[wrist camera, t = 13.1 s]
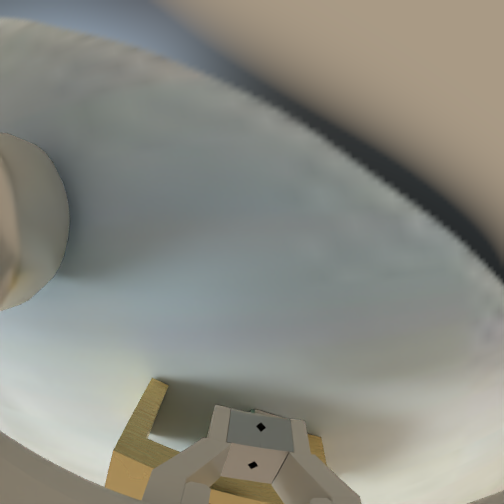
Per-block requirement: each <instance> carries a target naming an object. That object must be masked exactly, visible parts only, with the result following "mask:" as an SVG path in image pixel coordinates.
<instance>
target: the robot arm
mask: <svg viewBox="0 0 504 504" xmlns="http://www.w3.org/2000/svg"><path fill="white" fill-rule="evenodd" d="M220 476H222V477H228V478H235V479H242V480H249V481H255V482H261V483H268V484H272V487H273V488H274V490H275V491H276V493H277V494H278V495H279V497H280V498H281V500H282V501H283V503H284V504H361V500H360V496H359V495H357V494H356V493H355V492H354V491H353V490H352V489H351V488H350V487H349V486H347V485H346V484H345V483H344V482H343V481H342V480H341V479H340V478H339V477H338V476H337V475H336V474H335V473H333V472H332V471H331V470H330V469H329V468H328V467H327V466H326V465H325V464H324V463H323V462H322V461H321V460H320V459H319V458H318V457H317V456H316V455H313V454H311V452H310V446H309V440H308V434H307V429H306V423H305V421H304V420H297V419H287V418H280V417H273V416H267V415H261V414H256V413H251V412H246V411H242V410H237V409H233V408H231V409H230V408H228V407H224V406H219V405H215V407H214V411H213V415H212V419H211V423H210V427H209V431H208V435H207V438H204V437H203V438H202V439H200V440H199V441H197V442H196V443H194V444H193V445H191V446H190V447H188V448H187V449H185V450H183V451H182V452H180V453H179V454H177V455H176V456H174V457H172V458H171V459H169V460H168V461H166V462H164V463H163V464H161V465H159V466H158V467H156V468H154V469H153V470H152V472H151V475H150V478H149V481H148V483H147V486H146V489H145V492H144V494H143V497H142V500H138V499H135V498H132V497H129V496H127V495H124V494H121V493H118V492H116V491H113V490H111V489H108V488H105V487H103V486H101V485H98V484H96V483H94V482H91V481H89V480H87V479H84V478H82V477H80V476H78V475H76V474H74V473H72V472H70V471H68V470H66V469H64V468H62V467H60V466H58V465H56V464H54V463H52V462H50V461H48V460H47V459H45V458H43V457H41V456H40V455H38V454H36V453H34V452H33V451H31V450H29V449H28V448H26V447H24V446H23V445H21V444H20V443H18V442H17V441H15V440H13V439H12V438H10V437H9V436H7V435H6V434H5V433H3V432H2V431H0V504H209V498H210V491H211V489H210V488H209V487H210V486H211V485H212V484H213V483H215V482H216V481H217V480H218V479H219V478H220ZM467 504H504V490H503V491H500V492H498V493H495V494H493V495H490V496H487V497H485V498H482V499H479V500H476V501H473V502H470V503H467Z"/></svg>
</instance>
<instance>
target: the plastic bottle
mask: <svg viewBox="0 0 504 504" xmlns="http://www.w3.org/2000/svg"><path fill="white" fill-rule="evenodd" d="M69 223H70V216H69V204H68V199H67V194H66V191H65V188H64V185H63V182H62V180H61V178H60V176H59V174H58V172H57V170H56V168H55V166H54V164H53V162H52V161H51V159H50V158H49V157H48V155H47V154H46V153H45V152H44V151H43V150H42V149H41V148H39V147H38V146H37V145H35V144H33V143H30V142H28V141H25V140H23V139H21V138H18V137H16V136H13V135H11V134H8V133H0V311H3V310H6V309H9V308H12V307H15V306H18V305H21V304H23V303H25V302H26V301H28V300H30V299H31V298H32V297H33V296H34V295H35V294H36V293H37V292H38V291H40V290H41V289H42V288H43V287H44V286H45V285H46V284H47V283H48V282H49V281H50V280H51V279H52V278H53V277H54V276H55V274H56V272H57V271H58V269H59V268H60V265H61V262H62V259H63V257H64V254H65V249H66V245H67V240H68V235H69Z"/></svg>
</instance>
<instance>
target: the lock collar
mask: <svg viewBox="0 0 504 504" xmlns="http://www.w3.org/2000/svg"><path fill="white" fill-rule="evenodd" d="M168 386H169V385H167V384H164V383H162V382H160V381H158V380H156V379H154V378H152V379H151V381H150V383H149V384H148V386H147V388H146V390H145V392H144V394H143V395H142V397H141V399H140V401H139V403H138V405H137V407H136V408H135V410H134V412H133V414H132V416H131V418H130V420H129V421H128V423H127V425H126V427H125V429H124V431H123V433H122V435H121V437H120V438H119V440H118V442H117V444H116V446H115V448H114V450H113V454H112V458H111V462H110V466H109V470H108V475H107V479H106V484H105V488H108V489H111V490H113V491H116V492H118V493H121V494H124V495H127V496H129V497H132V498H135V499H138V500H142V497H143V494H144V492H145V489H146V486H147V483H148V481H149V478H150V475H151V472H152V470H153V469H154V468H156V467H158V466H159V465H161V464H163V463H164V462H166V461H168V460H169V459H171V458H172V457H174V456H176V455H177V454H179V453H180V452H178V451H176V450H173V449H171V448H168V447H166V446H163V445H161V444H159V443H156V442H154V441H152V440H149V439H148V436H149V434H150V431H151V429H152V426H153V424H154V421H155V419H156V416H157V414H158V411H159V409H160V406H161V404H162V401H163V399H164V396H165V394H166V391H167V389H168ZM308 440H309V446H310V452H311V454H313V455H316V456H317V457H318V458H319V459H320V460H321V461H322V462H323V463H324V464H325V465H326V460H325V455H324V449H323V444H322V439H321V437H318V436H314V435H310V434H308ZM326 466H327V465H326ZM209 488H210V489H211V491H210V498H209V504H284V503H283V501H282V500H281V498H280V497H279V495H278V494H277V493H276V491H275V490H274V488H273V487H272V484H268V483H261V482H255V481H249V480H242V479H235V478H228V477H222V476H220V478H219V479H218V480H217V481H216V482H215V483H213V484H212V485H211V486H210V487H209Z"/></svg>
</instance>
